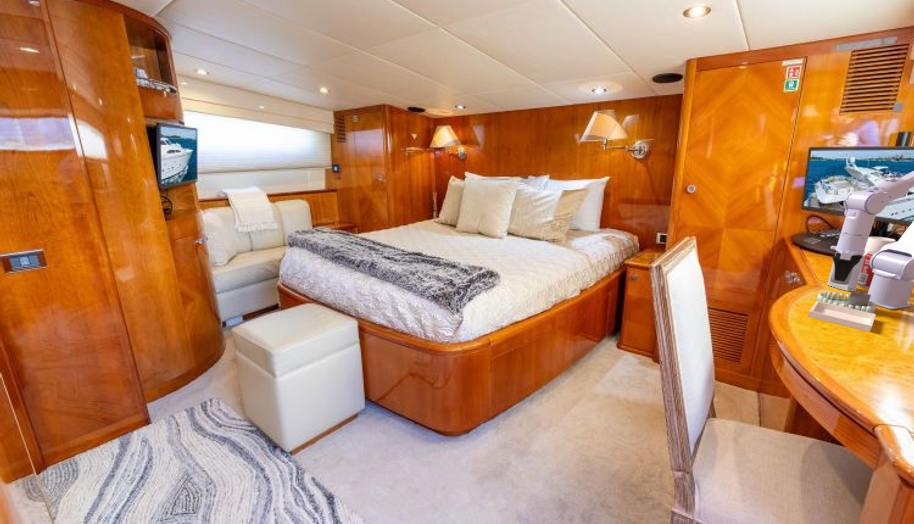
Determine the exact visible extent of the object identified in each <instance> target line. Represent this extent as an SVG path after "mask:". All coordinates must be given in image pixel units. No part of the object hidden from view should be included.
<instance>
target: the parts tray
mask: <svg viewBox="0 0 914 524" xmlns="http://www.w3.org/2000/svg"><path fill="white" fill-rule="evenodd" d="M807 315H808V316H807V317H808V318H812V319H816V320H819V321H823V322H828V323H833V324H835V325H839V326H844V327H848V328H851V329H856V330H860V331H863V332H868V333H871V330H872V327H873V323H874V321H875V318H876V315H877V314H876V313H873V314H872V313H868V312H864V311H859V310H855V309H850V308H846V307H841V306H837V305H833V304H828V303H824V302H819V301H817V300H816V302H815V303H814V304H813V306H812V307H811V308H810V309H809V312H808V314H807Z"/></svg>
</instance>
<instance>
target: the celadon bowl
mask: <svg viewBox="0 0 914 524" xmlns="http://www.w3.org/2000/svg"><path fill="white" fill-rule="evenodd" d="M838 294H839V295H838ZM850 294H851V293H846V294H845V293H843V292H840V293H839V292H837V291H833V292H832V291H823V292H822V291H820V292H818V294H817V297H816V302H817V301H819V302H824V303H828V304H833V305H837V306H841V307H846V308H850V309H853V307H854V306H853V305H849V306H848V307H847V304H848V301H849V297H850ZM845 295H846V296H845ZM844 297H845V298H844ZM877 307H878V305H876V304H875V303H874V302H872V301H870V300H869V303H868V306H867V307H865V306H862V308H861V307H860V306H856V307H855V310H859V311H860V308H861V311H864V312H868V313H872V314H874V313H875V312H876V309H877Z"/></svg>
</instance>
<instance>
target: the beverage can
mask: <svg viewBox="0 0 914 524" xmlns="http://www.w3.org/2000/svg"><path fill="white" fill-rule="evenodd" d="M875 253H876V252H868V253H867V254H866V255H864V256H865V259H864V262H863V266H862V269H861V272H860V276H859V279H858V283H857V285H858V286H857V287H859V288H862V289H865V290H869V288H870V285H871V282H872V279H873V276H874V272H872V270H873V269H872V268H871V267H870V259H871V257H872V256H873V255H874V254H875Z"/></svg>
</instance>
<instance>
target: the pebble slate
mask: <svg viewBox="0 0 914 524" xmlns="http://www.w3.org/2000/svg"><path fill="white" fill-rule="evenodd" d="M852 272H853V269H852V270H851V272H850V273H849V275H848V277H847V279H846V280H845V281H844V282H843V281H837V280H835V279H834V274H835V266H834V270H833V273H832V276H831V279H830V281H831V282H833V283H837V284H843V285H848V284H849V281H850V278H851V275H852Z"/></svg>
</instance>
